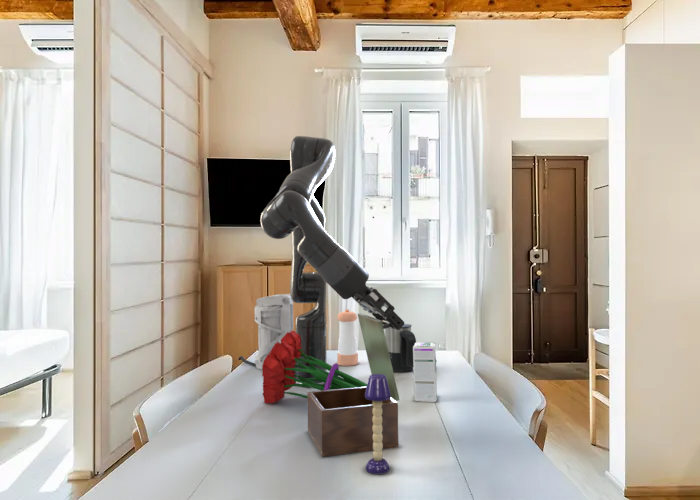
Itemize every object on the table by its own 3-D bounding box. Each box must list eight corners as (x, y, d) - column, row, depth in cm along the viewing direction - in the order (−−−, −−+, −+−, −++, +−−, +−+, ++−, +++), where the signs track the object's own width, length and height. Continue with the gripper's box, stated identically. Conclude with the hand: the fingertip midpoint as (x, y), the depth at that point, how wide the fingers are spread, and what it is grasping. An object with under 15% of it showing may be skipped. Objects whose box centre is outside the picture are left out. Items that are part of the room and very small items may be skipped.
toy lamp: (364, 463, 89) (363, 372, 90) (389, 462, 90) (388, 371, 90) (367, 475, 85) (366, 379, 85) (393, 474, 85) (392, 378, 85)
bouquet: (368, 444, 114) (249, 411, 119) (376, 420, 131) (271, 392, 136) (385, 362, 114) (265, 333, 119) (391, 349, 130) (285, 323, 135)
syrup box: (436, 402, 126) (435, 346, 126) (413, 401, 127) (412, 345, 127) (437, 396, 131) (436, 342, 132) (415, 395, 133) (414, 341, 133)
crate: (322, 457, 93) (321, 410, 93) (307, 432, 106) (307, 391, 106) (398, 447, 97) (397, 402, 97) (375, 424, 110) (375, 385, 110)
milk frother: (379, 369, 163) (378, 324, 163) (409, 361, 174) (409, 320, 174) (411, 376, 153) (410, 329, 153) (442, 368, 163) (441, 324, 163)
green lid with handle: (377, 321, 96) (403, 314, 98) (357, 313, 109) (380, 307, 111) (396, 401, 97) (421, 392, 99) (373, 384, 110) (396, 376, 112)
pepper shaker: (339, 361, 177) (338, 308, 177) (359, 361, 176) (358, 308, 176) (335, 365, 169) (335, 310, 170) (356, 366, 168) (355, 310, 169)
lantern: (251, 369, 165) (250, 295, 165) (260, 362, 175) (259, 293, 176) (288, 370, 163) (287, 295, 164) (295, 363, 174) (294, 293, 174)
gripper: (364, 258, 95) (418, 315, 98) (344, 258, 109) (392, 307, 112) (338, 286, 94) (394, 343, 97) (321, 283, 107) (371, 332, 110)
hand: (393, 324), depth 104 cm, fingers open, 8 cm apart
